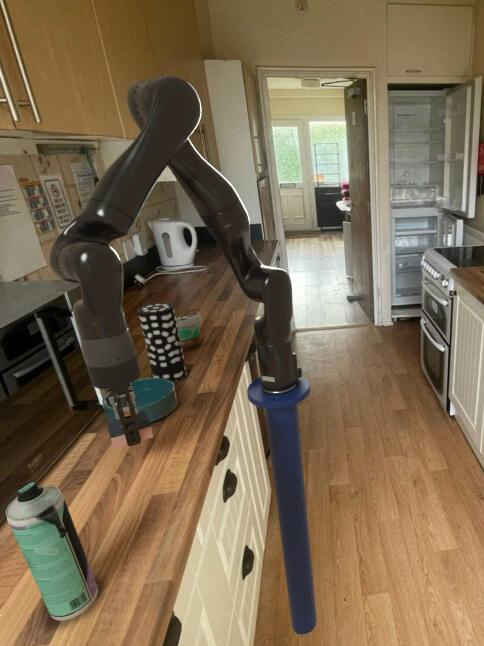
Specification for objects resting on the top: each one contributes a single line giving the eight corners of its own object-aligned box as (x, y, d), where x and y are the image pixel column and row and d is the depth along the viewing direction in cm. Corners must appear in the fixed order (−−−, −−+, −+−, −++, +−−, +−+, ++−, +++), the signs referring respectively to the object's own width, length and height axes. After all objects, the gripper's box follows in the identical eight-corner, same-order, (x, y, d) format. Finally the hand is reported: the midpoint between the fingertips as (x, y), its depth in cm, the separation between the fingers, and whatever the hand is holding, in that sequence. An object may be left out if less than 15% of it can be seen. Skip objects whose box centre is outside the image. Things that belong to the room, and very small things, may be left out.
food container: (171, 355, 130) (164, 325, 126) (164, 349, 134) (158, 319, 131) (211, 344, 138) (206, 315, 134) (203, 339, 142) (198, 310, 138)
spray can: (107, 583, 61) (66, 470, 53) (80, 621, 56) (31, 503, 48) (69, 581, 61) (23, 469, 53) (39, 620, 56) (-16, 502, 48)
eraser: (149, 427, 84) (145, 410, 82) (153, 437, 81) (149, 419, 79) (111, 439, 80) (106, 421, 79) (114, 449, 77) (108, 431, 76)
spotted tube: (188, 368, 123) (176, 301, 115) (184, 381, 115) (170, 311, 107) (157, 371, 121) (142, 304, 113) (150, 385, 113) (133, 314, 105)
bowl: (170, 389, 111) (166, 372, 109) (184, 414, 100) (180, 396, 98) (104, 407, 103) (99, 389, 101) (112, 437, 92) (106, 417, 90)
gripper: (142, 365, 71) (162, 449, 77) (129, 338, 81) (147, 415, 88) (88, 377, 67) (114, 466, 73) (82, 347, 77) (105, 427, 84)
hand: (132, 437), depth 81 cm, fingers closed on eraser, 3 cm apart
